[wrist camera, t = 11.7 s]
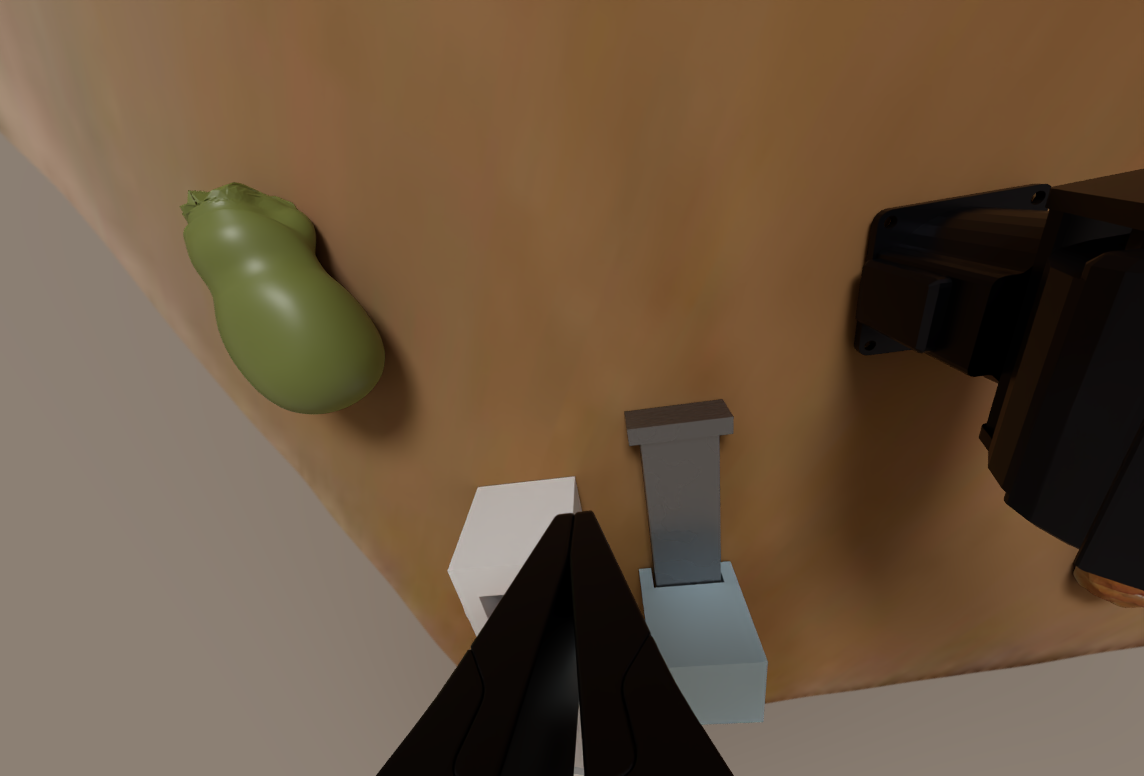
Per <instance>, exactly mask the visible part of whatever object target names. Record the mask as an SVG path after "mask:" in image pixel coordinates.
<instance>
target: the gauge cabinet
mask: <svg viewBox="0 0 1144 776" xmlns="http://www.w3.org/2000/svg"><path fill="white" fill-rule="evenodd" d="M576 512H582V508H581V504H580V499H579V494H578V489H577V485H576V480H575V477H566V478H557V479H548V480H539V481H530V482H521V483H512V484H503V485H494V486H485V487H478V489H477V491H476V494H475V497H474V500H473V502H472V505H471V508H470V511H469V513H468V516H467V519H466V522H465V524H464V527H463V530H462V533H461V535H460V538H459V541H458V544H457V546H456V549H455V552H454V555H453V557H452V560H451V563H450V566H449V568H448V573H449V575H450V578H451V580H452V582H453V584H454V587H455V589H456V591H457V593H458V596H459V598H460V600H461V602H462V605H463V607H464V611H465V613H466V616H467V618H468V619H469V621H470V623H471V625H472V627H473V630H474V632H475V634H476V636H478V634H479V632H480V631H481V629H482V628H483V626H484V625H485V623H486V622H487V620H488V619H489V617H490V616H491V614H492V612H493V611H494V609H495V608H496V606H497V605H498V603H499V602H500V600H501V599H502V597H503V596H504V594H505V592H506V591H507V589H508V588H509V586H510V585H511V583H512V582H513V580H514V579H515V577H516V576H517V574H518V572H519V571H520V569H521V568H522V566H523V565H524V563H525V562H526V560H527V559H528V557H529V556H530V554H531V552H532V551H533V549H534V548H535V546H536V545H537V543H538V542H539V540H540V539H541V537H542V536H543V534H544V532H545V531H546V529H547V528H548V526H549V525H550V523H551V522H552V520H553V519H554V517H555V516H556V515H558V514H564V513H573V514H574V515H575V513H576Z"/></svg>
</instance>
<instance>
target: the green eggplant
mask: <svg viewBox="0 0 1144 776" xmlns="http://www.w3.org/2000/svg"><path fill="white" fill-rule="evenodd" d="M180 208H181V209H182V211H183V213H182V215H183V216H184V218H185V219H186V221H187V222H188V225H187V226H186V228H185V229H184V232H183V236H184V240H185V244H186V248H187V251H188V255H189V258H190V260H191V262H192V264H193V266H194V268H195V269H196V271H197V272H198V274H199V275H200V277H201V278H202V279H203V281H204V282H205V283H206V285H207V286H208V288H209V290H210V292H211V294H212V297H213V301H214V308H215V316H216V321H217V326H218V330H219V333H220V336H221V338H222V341H223V343H224V345H225V348H226V350H227V351H228V353H229V355H230V357H231V359H232V360H233V362H234V363H235V365H236V366H237V368H238V369H239V370H240V372H241V373H242V374H243V375H244V377H245V378H246V379H247V380H248V381H249V383H250V384H251V385H252V386H253V387H254V388H255V389H256V390H257V391H258V392H259V393H261V394H262V395H263V396H264V397H265V398H267V399H268V400H269V401H271V402H272V403H274V404H276V405H278V406H279V407H281V408H284V409H286V410H289V411H292V412H296V413H302V414H325V413H330V412H335V411H338V410H341V409H344V408H346V407H349V406H351V405H353V404H354V403H356V402H358V401H359V400H361V399H362V398H364V397H365V396H366V395H367V394H368V393H369V392H370V391H371V390H372V389H373V388H374V387H375V385H376V384H377V383H378V381H379V379H380V377H381V375H382V372H383V369H384V364H385V351H384V346H383V342H382V339H381V337H380V334H379V332H378V330H377V328H376V327H375V325H374V323H373V322H372V321H371V319H370V318H369V316H368V315H367V313H366V312H365V310H364V309H363V308H362V307H361V305H360V304H359V303H358V302H357V301H356V299H355V298H354V297H353V296H352V295H351V294H350V293H349V292H348V291H347V290H346V289H345V288H344V287H343V286H341V285H340V284H339V283H338V282H337V281H336V280H334V279H333V278H332V277H331V276H330V275H329V274H328V273H327V272H326V271H325V270H324V269H323V267H322V266H321V264H320V262H319V261H318V259H317V258H316V255H315V249H316V233H315V229H314V226H313V224H312V222H311V221H310V219H309V218H308V217H307V216H306V215H305V214H303V213H302V212H300V211H299V210H297V209H296V207H295V206H294V204H293V203H292V202H289V201H286V200H284V199H281V198H279V197H276V196H269V195H266V194H263V193H261V192H259V191H257V190H255V189H253V188H250V187H248V186H246V185H244V184H241V183H235V182H233V183H230V184H227V185H225V186H222V187H219V188H217V189H214V190H212V191H211V192H208V193H207V192H206V193H205V191H203V192H202V191H199V192H198V191H196V190H194V191H193V192H192V191H189V190H188V202H187V204H184V205H182V206H180Z"/></svg>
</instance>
